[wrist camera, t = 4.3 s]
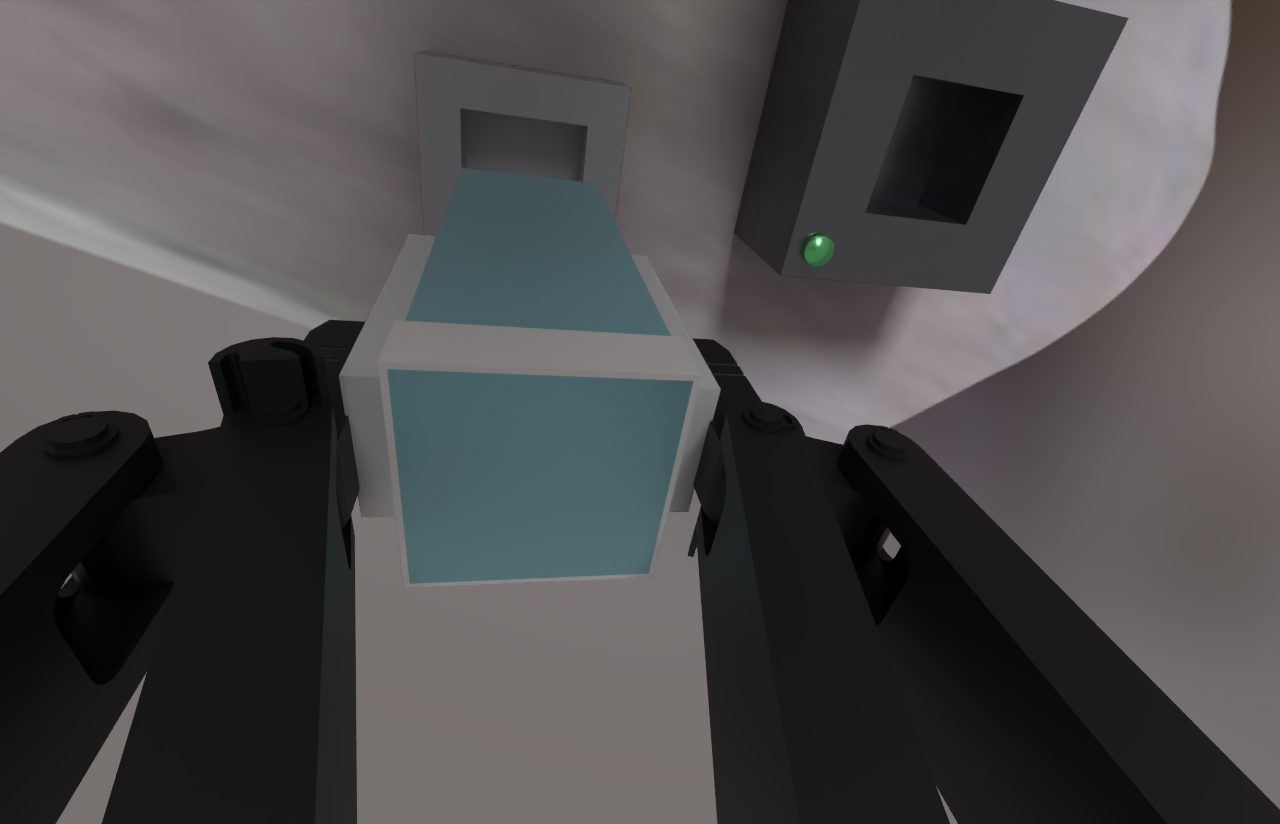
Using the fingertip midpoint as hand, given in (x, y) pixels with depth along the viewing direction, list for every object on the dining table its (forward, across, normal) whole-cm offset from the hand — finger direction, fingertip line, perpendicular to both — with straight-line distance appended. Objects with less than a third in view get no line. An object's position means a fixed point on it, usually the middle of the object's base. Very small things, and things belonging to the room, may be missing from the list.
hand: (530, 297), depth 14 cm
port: (+17, +18, +4) cm, 25 cm away
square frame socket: (+17, 0, 0) cm, 17 cm away
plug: (+5, 0, 0) cm, 5 cm away
